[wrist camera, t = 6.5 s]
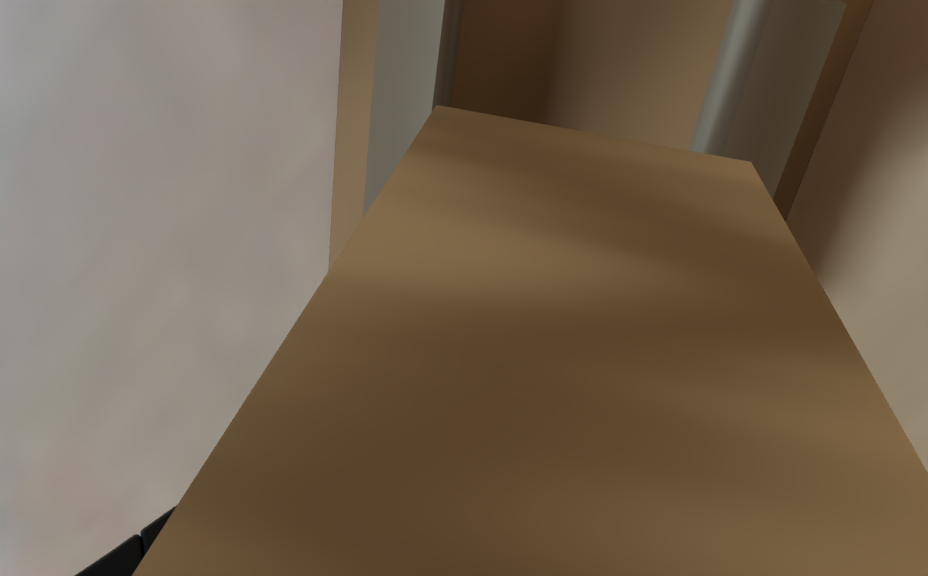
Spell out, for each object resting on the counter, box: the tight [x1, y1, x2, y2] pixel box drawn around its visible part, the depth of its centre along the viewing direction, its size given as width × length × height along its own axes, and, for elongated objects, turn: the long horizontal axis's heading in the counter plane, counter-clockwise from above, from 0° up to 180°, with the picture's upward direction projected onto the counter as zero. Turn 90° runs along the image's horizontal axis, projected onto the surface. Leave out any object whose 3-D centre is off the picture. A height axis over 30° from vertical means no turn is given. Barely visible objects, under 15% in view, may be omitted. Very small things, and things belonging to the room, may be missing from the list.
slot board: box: [328, 0, 873, 272], centre depth 17 cm, size 11×12×4 cm
